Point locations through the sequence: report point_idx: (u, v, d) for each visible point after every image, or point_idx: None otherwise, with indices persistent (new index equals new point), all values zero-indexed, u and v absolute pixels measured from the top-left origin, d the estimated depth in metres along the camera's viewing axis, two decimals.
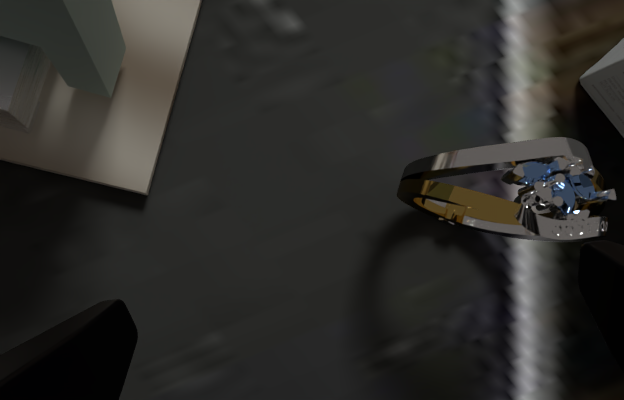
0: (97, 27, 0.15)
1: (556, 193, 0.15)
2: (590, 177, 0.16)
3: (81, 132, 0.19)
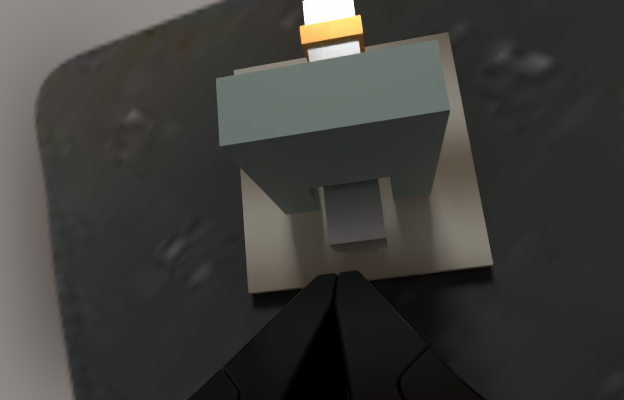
0: None
1: None
2: None
3: (416, 233, 0.21)
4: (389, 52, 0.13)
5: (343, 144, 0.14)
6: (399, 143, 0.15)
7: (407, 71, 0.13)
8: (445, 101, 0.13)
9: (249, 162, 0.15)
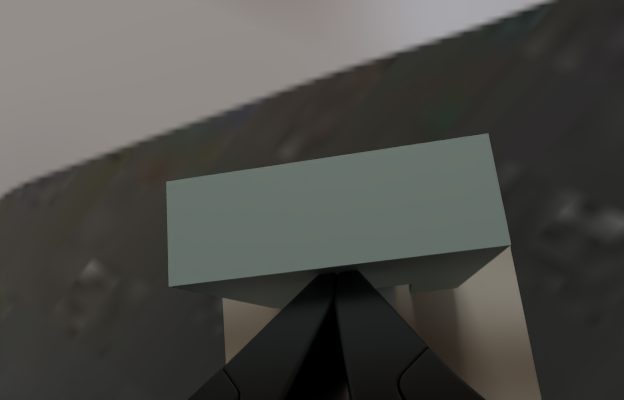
0: None
1: None
2: None
3: None
4: (417, 151, 0.09)
5: None
6: (429, 267, 0.10)
7: (444, 181, 0.09)
8: (503, 231, 0.09)
9: (217, 291, 0.11)
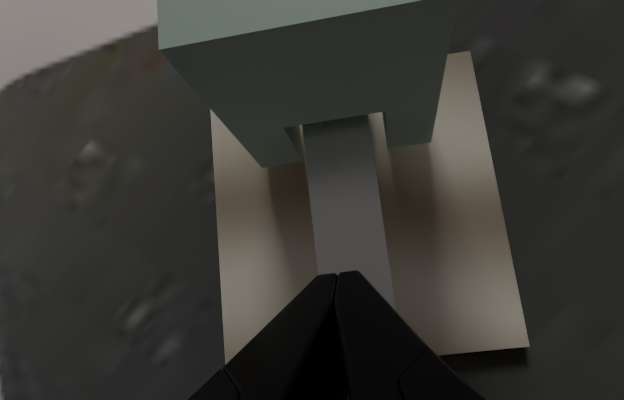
0: None
1: None
2: None
3: (433, 304, 0.17)
4: None
5: (320, 53, 0.11)
6: (393, 53, 0.12)
7: None
8: None
9: (203, 80, 0.12)
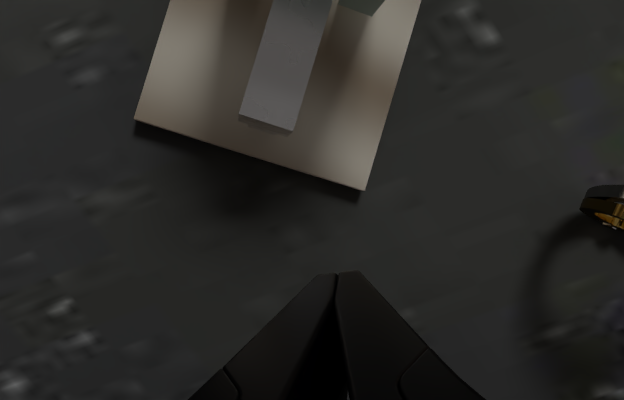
0: None
1: None
2: None
3: (315, 135, 0.22)
4: None
5: None
6: None
7: None
8: None
9: None
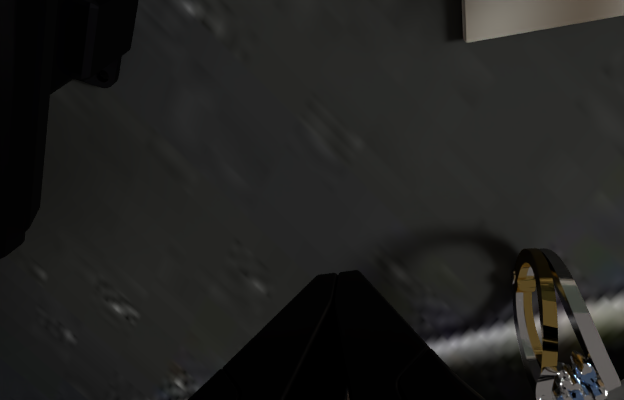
0: None
1: (572, 392, 0.19)
2: None
3: None
4: None
5: None
6: None
7: None
8: None
9: None
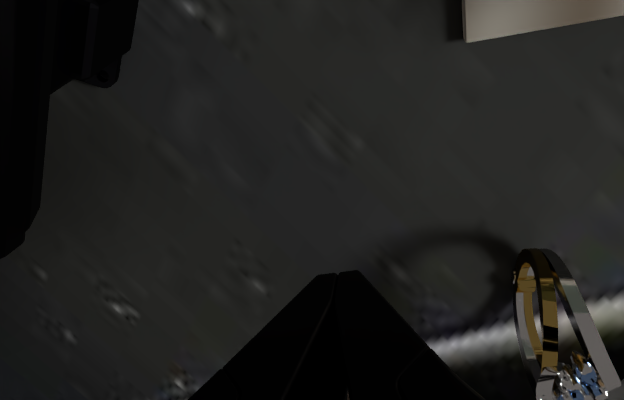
0: None
1: (573, 392, 0.19)
2: None
3: None
4: None
5: None
6: None
7: None
8: None
9: None
